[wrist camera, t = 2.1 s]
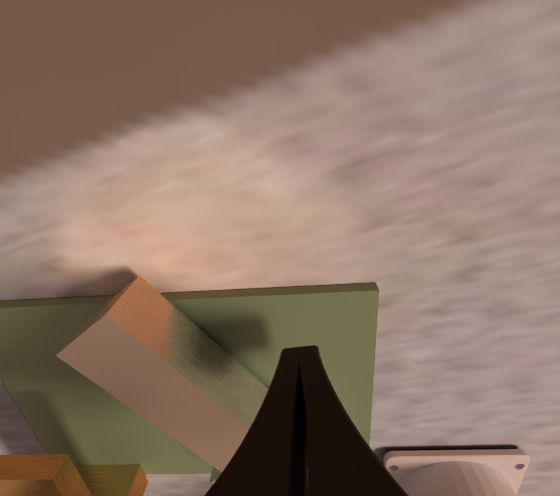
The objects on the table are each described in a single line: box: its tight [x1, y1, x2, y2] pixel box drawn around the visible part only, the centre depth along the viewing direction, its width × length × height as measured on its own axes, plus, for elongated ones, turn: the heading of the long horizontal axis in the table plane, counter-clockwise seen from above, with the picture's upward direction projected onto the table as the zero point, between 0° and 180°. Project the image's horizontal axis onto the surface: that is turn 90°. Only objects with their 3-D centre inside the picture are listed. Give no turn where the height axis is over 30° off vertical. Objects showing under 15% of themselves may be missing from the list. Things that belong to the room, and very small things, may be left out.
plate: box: [0, 283, 379, 474], centre depth 17 cm, size 13×19×1 cm, turn 94°
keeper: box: [0, 454, 148, 496], centre depth 16 cm, size 8×4×4 cm, turn 4°
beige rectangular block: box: [56, 276, 308, 484], centre depth 15 cm, size 14×5×3 cm, turn 39°
